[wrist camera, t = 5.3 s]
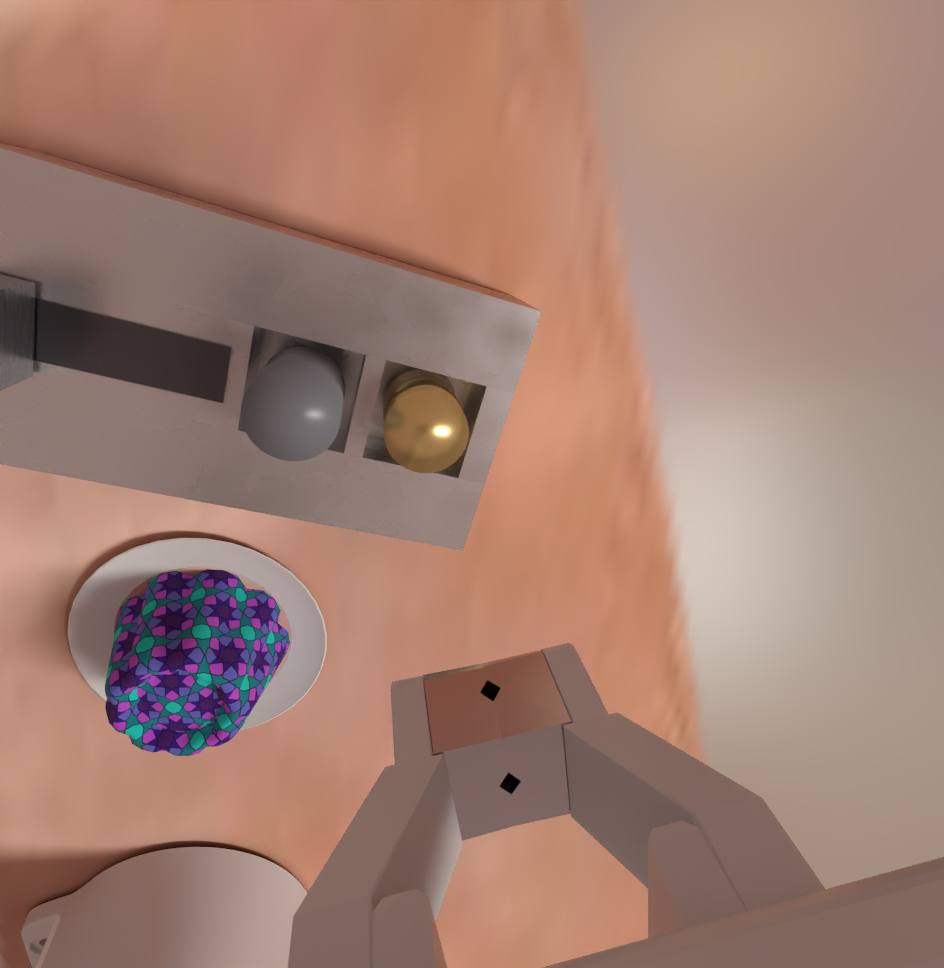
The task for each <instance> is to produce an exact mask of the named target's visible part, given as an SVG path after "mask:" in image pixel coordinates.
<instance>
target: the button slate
mask: <svg viewBox="0 0 944 968" xmlns="http://www.w3.org/2000/svg"><path fill="white" fill-rule="evenodd" d="M344 398H345V381H344V377H343V375H342V372H341V371H340V369H339V367H338V366H337V364H336V363H335V362H334V361H333V360H332V359H331V358H330V357H329V356H327V355H326V354H324V353H323V352H321V351H319V350H316V349H313V348H309V347H301V346H299V347H291V348H287V349H284V350H282V351H280V352H278V353H277V354H275V355H274V356H273V357H272V358H271V359H270V360H269V361H268V362H267V364H266V365H265V366H264V368H263V369H262V370H261V372H260V373H259V374H258V376H257V377H256V378H255V380H254V381H253V382H252V384H251V385H250V386H249V388H248V389H247V391H246V393H245V395H244V397H243V400H242V404H241V419H242V424H243V427H244V430H245V432H246V434H247V435H248V437H249V438H250V440H251V441H252V442H253V443H254V444H255V445H256V446H257V447H258V448H259V449H260V450H262V451H263V452H264V453H266V454H268V455H270V456H272V457H274V458H277V459H281V460H285V461H303V460H308V459H311V458H314V457H316V456H318V455H320V454H321V453H323V452H324V451H325V450H327V449H328V448H329V447H330V445H331V444H332V443H333V442H334V440H335V438H336V436H337V434H338V431H339V428H340V422H341V416H342V410H343V404H344Z"/></svg>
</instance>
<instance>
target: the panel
mask: <svg viewBox="0 0 944 968" xmlns="http://www.w3.org/2000/svg"><path fill="white" fill-rule="evenodd" d="M0 274H2V275H6V276H10V277H14V278H17V279H21V280H25V281H29V282H33V283H35V315H34V356H33V376H32V377H30V378H28V379H26V380H23V381H21V382H19V383H17V384H15V385H13V386H10V387H8V388H6V389H4V390H2V391H0V464H2V465H8V466H13V467H18V468H24V469H29V470H34V471H40V472H45V473H51V474H56V475H61V476H67V477H72V478H77V479H83V480H88V481H93V482H99V483H104V484H110V485H115V486H120V487H126V488H131V489H136V490H142V491H147V492H152V493H158V494H163V495H169V496H174V497H179V498H185V499H190V500H195V501H201V502H206V503H211V504H217V505H222V506H228V507H233V508H238V509H244V510H249V511H254V512H260V513H265V514H270V515H276V516H281V517H287V518H292V519H297V520H303V521H308V522H313V523H319V524H324V525H329V526H335V527H340V528H346V529H351V530H356V531H362V532H367V533H372V534H378V535H383V536H388V537H394V538H399V539H405V540H410V541H415V542H421V543H426V544H431V545H437V546H442V547H447V548H453V549H458V550H463V549H464V546H465V543H466V540H467V536H468V533H469V530H470V527H471V524H472V521H473V518H474V515H475V512H476V509H477V506H478V503H479V500H480V497H481V494H482V491H483V488H484V485H485V482H486V479H487V476H488V473H489V469H490V466H491V463H492V460H493V457H494V454H495V451H496V448H497V445H498V442H499V439H500V436H501V433H502V430H503V427H504V424H505V421H506V418H507V415H508V412H509V409H510V406H511V402H512V399H513V396H514V393H515V390H516V387H517V384H518V381H519V378H520V375H521V372H522V369H523V366H524V363H525V360H526V357H527V354H528V351H529V348H530V345H531V342H532V339H533V335H534V332H535V329H536V326H537V323H538V320H539V317H540V314H541V311H540V310H538V309H536V308H534V307H532V306H531V305H529V304H527V303H525V302H523V301H522V300H520V299H518V298H516V297H514V296H511V295H508V294H504V293H501V292H498V291H495V290H491V289H488V288H485V287H481V286H478V285H475V284H472V283H468V282H465V281H462V280H459V279H455V278H452V277H449V276H445V275H442V274H439V273H436V272H432V271H429V270H426V269H423V268H419V267H416V266H413V265H409V264H406V263H403V262H400V261H396V260H393V259H390V258H386V257H383V256H380V255H377V254H373V253H370V252H367V251H364V250H360V249H357V248H354V247H350V246H347V245H344V244H341V243H337V242H334V241H331V240H328V239H324V238H321V237H318V236H314V235H311V234H308V233H305V232H301V231H298V230H295V229H291V228H288V227H285V226H282V225H278V224H275V223H272V222H269V221H265V220H262V219H259V218H255V217H252V216H249V215H246V214H242V213H239V212H236V211H232V210H229V209H226V208H223V207H219V206H216V205H213V204H210V203H206V202H203V201H200V200H196V199H193V198H190V197H187V196H183V195H180V194H177V193H174V192H170V191H167V190H164V189H160V188H157V187H154V186H151V185H147V184H144V183H141V182H137V181H134V180H131V179H128V178H124V177H121V176H118V175H115V174H111V173H108V172H105V171H101V170H98V169H95V168H92V167H88V166H85V165H82V164H79V163H75V162H72V161H69V160H65V159H62V158H59V157H56V156H52V155H49V154H46V153H42V152H39V151H36V150H31V149H26V148H21V147H16V146H11V145H6V144H1V143H0ZM299 346H301V347H309V348H313V349H316V350H319V351H321V352H323V353H324V354H326V355H327V356H329V357H330V358H331V359H332V360H333V361H334V362H335V363H336V364H337V366H338V367H339V369H340V371H341V372H342V375H343V377H344V381H345V398H344V404H343V410H342V416H341V422H340V428H339V431H338V434H337V436H336V438H335V440H334V442H333V443H332V444H331V445H330V447H329V448H328V449H327V450H325V451H324V452H323V453H321V454H320V455H318V456H316V457H314V458H311V459H308V460H303V461H285V460H281V459H277V458H274V457H272V456H270V455H268V454H266V453H264V452H263V451H262V450H260V449H259V448H258V447H257V446H256V445H255V444H254V443H253V442H252V441H251V440H250V438H249V437H248V435H247V434H246V432H245V430H244V427H243V424H242V419H241V404H242V400H243V397H244V395H245V393H246V391H247V389H248V388H249V386H250V385H251V384H252V382H253V381H254V380H255V378H256V377H257V376H258V374H259V373H260V372H261V370H262V369H263V368H264V366H265V365H266V364H267V362H268V361H269V360H270V359H271V358H272V357H273V356H274V355H275V354H277V353H278V352H280V351H282V350H284V349H287V348H291V347H299ZM415 369H422V370H426V371H430V372H434V373H437V374H439V375H441V376H442V377H444V378H445V379H446V380H447V381H448V382H449V384H450V385H451V387H452V388H453V390H454V392H455V395H456V397H457V399H458V401H459V403H460V405H461V408H462V410H463V412H464V414H465V416H466V419H467V422H468V427H469V437H468V442H467V445H466V448H465V450H464V452H463V453H462V455H461V456H460V457H459V459H458V460H457V461H456V462H454V463H453V464H452V465H451V466H449V467H447V468H445V469H443V470H441V471H438V472H433V473H418V472H414V471H411V470H408V469H406V468H404V467H402V466H401V465H400V464H398V463H397V462H396V461H395V460H394V459H393V458H392V456H391V455H390V453H389V452H388V450H387V447H386V444H385V440H384V424H383V398H384V395H385V392H386V390H387V388H388V386H389V385H390V383H391V382H392V381H393V380H394V379H395V378H396V377H398V376H399V375H401V374H402V373H405V372H407V371H410V370H415Z"/></svg>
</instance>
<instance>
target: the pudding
mask: <svg viewBox="0 0 944 968" xmlns="http://www.w3.org/2000/svg"><path fill="white" fill-rule="evenodd" d="M188 567H209V568H216V569H222V570H206V571H204V572H202V573H200V574H198V575H196V576H194V577H192V576H189V575H186V574H183V573H180V572H177V571H175V572H169V573H163V572H167V571H170V570H174V569H180V568H188ZM224 570H226V571H230V572H233V573H236V574H239V575H241V576H244V577H246V578H248V579H250V580H252V581H254V582H255V583H257V584H258V585H260V586H261V587H263V588H264V589H266V590H267V591H268V592H269V593H270V594H271V595H272V596H273V597H274V598H275V599H276V600H277V601H278V603H279V604H280V605H281V607H282V608H283V610H284V612H285V614H286V616H287V618H288V620H289V624H290V629H291V648H290V653H289V656H288V658H287V660H286V662H285V665H284V666H283V668H282V669H281V670H280V672H279V673H278V674H277V675H276V676H275V677H274V678H273V679H272V680H271V678H272V677H273V675H274V673H275V671H276V669H277V668H278V666H279V664H280V663H281V661H282V660H283V658H284V656H285V655H286V652H287V650H288V647H289V644H290V641H289V635H288V632H287V631H286V630H285V629H284V628H283V627H282V626H280V625H279V624H278V623H277V621H278V617H279V614H280V609H279V607H278V605H277V603H276V601H275V600H274V599H273V598H272V597H271V596H269V595H268V594H267V593H265V592H264V591H261V590H253V589H246V588H245V586H244V585H243V583H242V582H241V580H240V579H239V577H238V576H236V575H233V574H231V573H228V572H226V571H224ZM160 573H163V574H160ZM158 574H160V575H158ZM156 575H158V576H157V577H155V578H153V579H152V580H150V581H149V582H148V586H147V589H146V593H145V595H142V596H138V597H134V598H129V599H128V600H127V601H126V602H125V603H124V605H123V606H122V607H121V608H120V606H121V605H122V603H123V601H124V600H125V598H126V597H127V596H128V595H129V594H130V593H131V592H132V591H133V590H134V589H135V588H136V587H137V586H139V585H140V584H141V583H143V582H144V581H146V580H147V579H149V578H152V577H154V576H156ZM119 608H120V611H119V616H118V621H117V626H116V631H115V635H114V628H115V619H116V616H117V613H118V610H119ZM68 640H69V646H70V651H71V655H72V657H73V659H74V661H75V664H76V666H77V668H78V671H79V672H80V673H81V675H82V676H83V678H84V679H85V681H86V682H87V683H88V685H89V686H90V687H91V688H92V689H93V690H94V691H95V692H96V693H97V694H98V695H99V696H100V697H101V698H102V699H103V700H104V701H106V712H107V716H108V720H109V723H110V724H111V725H112V726H113V727H114V729H115V730H116V731H118V732H121V733H124V734H127V735H129V737H130V739H131V742H132V744H134V745H135V746H137V747H139V748H140V749H142V750H146V751H150V752H158V751H164V750H166V751H167V752H169V753H171V754H173V755H177V756H190V755H194V754H198V753H200V752H201V751H202V750H203V749H204V748H205V747H209V746H220V745H222V744H224V743H226V742H227V741H229V740H230V739H232V738H233V737H234V736H235V735H236V734H237V732H238V731H241V730H244V729H247V728H251V727H254V726H258V725H260V724H263V723H265V722H267V721H269V720H271V719H274V718H276V717H278V716H279V715H281V714H282V713H284V712H285V711H287V710H289V709H290V708H292V707H293V706H294V705H295V704H296V703H297V702H298V701H299V700H301V699H302V698H303V697H304V696H305V695H306V693H307V692H308V691H309V690H310V688H311V687H312V686H313V684H314V683H315V682H316V679H317V677H318V675H319V673H320V671H321V669H322V667H323V663H324V659H325V655H326V646H327V634H326V629H325V624H324V619H323V616H322V614H321V612H320V609H319V607H318V605H317V603H316V601H315V599H314V598H313V597H312V595H311V594H310V592H309V591H308V589H307V588H306V587H305V586H304V585H303V584H302V583H301V582H300V581H299V580H298V579H297V578H296V577H295V576H294V575H293V574H292V573H291V572H290V571H289V570H287V569H286V568H284V567H283V566H282V565H280V564H279V563H277V562H276V561H274V560H273V559H271V558H269V557H267V556H265V555H263V554H261V553H259V552H257V551H255V550H252V549H249V548H246V547H243V546H240V545H237V544H234V543H231V542H225V541H219V540H213V539H207V538H176V539H167V540H159V541H155V542H151V543H148V544H144V545H141V546H137V547H134V548H132V549H130V550H128V551H126V552H123V553H121V554H119V555H117V556H115V557H113V558H112V559H111V560H109V561H108V562H106V563H105V564H104V565H102V566H101V567H99V568H98V569H97V570H96V571H95V572H94V573H93V574H92V575H91V576H90V577H89V578H88V579H87V580H86V582H85V583H84V584H83V585H82V587H81V589H80V590H79V592H78V594H77V596H76V597H75V599H74V601H73V604H72V608H71V611H70V614H69V618H68ZM270 680H271V681H270ZM269 681H270V682H269Z"/></svg>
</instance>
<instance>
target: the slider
mask: <svg viewBox="0 0 944 968" xmlns="http://www.w3.org/2000/svg"><path fill="white" fill-rule="evenodd" d="M34 315H35V283H33V282H29V281H25V280H21V279H17V278H14V277H10V276H6V275H2V274H0V391H2V390H4V389H6V388H8V387H10V386H13V385H15V384H17V383H19V382H21V381H23V380H26V379H28V378H30V377H32V376H33V356H34Z"/></svg>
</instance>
